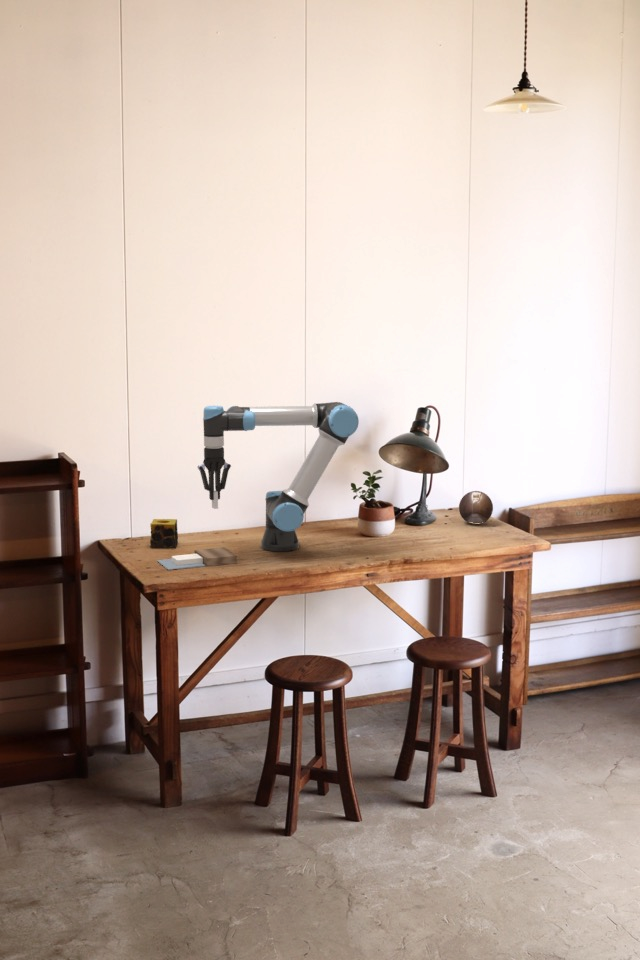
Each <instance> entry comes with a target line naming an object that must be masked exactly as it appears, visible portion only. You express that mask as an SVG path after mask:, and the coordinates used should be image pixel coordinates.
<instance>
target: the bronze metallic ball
mask: <svg viewBox="0 0 640 960" xmlns="http://www.w3.org/2000/svg"><path fill="white" fill-rule="evenodd" d="M458 504H459V505H458V511H459V515H460V516H461V518H462V519H463V521H464V522H466V521H467V523H468V522H473V523H482V522H484V523H486V522H488V520H489V519H490V518H491V517H492V514H493V512H494V505H493V502H492V499H491V498H490V496H489V495H488V494H486V493H485V492H483V491H478V490H472V491H469V492H467V493H466V494H464V495H463V496H462V497H461V499H460V501H459V503H458ZM482 524H483V523H482Z"/></svg>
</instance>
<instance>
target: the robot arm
mask: <svg viewBox="0 0 640 960" xmlns="http://www.w3.org/2000/svg"><path fill="white" fill-rule="evenodd" d="M202 421H203V446H204V448H203V456H204V459H203V461H202V464H200V465H197V469H198V470H199V473H200V477H201V480H202V484H203V488H204V490H206V491H208V492H209V494H208V495H209V500H211V508H212V509H214V510H215V509H216V510H217V509H219V500H220V499H221V491H222V490H225V488H226V484H227V481H228V475H229V470H230V469H231V467H232V465H231V464H229V463H228V462H226V460H225V448H224V446H225V439H224V436H225V435H224V434H225V433H224V432H232V431H233V432H237V431H239V432H240V431H241V432H242V431H244V432H247V431H254V430H255V428H256V427H262V426H264V427H265V426H267V427H275V426H277V427H278V426H282V427H283V426H284V427H286V426H293V427H295V426H312V427H313V428H315V429H318V437H317V439H316V440H315V442H314V444H313V445H312V447H311V449H310V451H309V453H308V454H307V456H306V458H305V460H304V461H303V463H302V465H301V466H300V468H299V470H298V472H297V473H296V475H295V477H294V478H293V480H292V482H291V483H290V485H289V487H288V488H286V489H283V490H272V491H267V492H266V494H265V529H264V533H263V535H262V538H261V541H260V545H261V546H260V547H261V549H263V550H265V551H270V552H289V551H290V552H291V550H292V551H295V549H296V550H298V549H299V548H298V547H300V545H299V544H300V542H299V538H298V535H297V533H296V530H297V529H298V528H299V527H301V525H302V523H303V522H304V518H305V516H304V515H305V512H306V511H307V509H308V508H309V505H310V504H309V498H310V496H312V493H313V491H314V490H315V487H316V486H317V484H318V482H319V481H320V479H321V477H322V475H323V474H324V472H325V471H326V469H327V467H328V465H329V464H330V462H331V461H332V459H333V457H334V455H335V453H336V452H337V450H338V448H339V447H340V446H342V445H343V446H344V445H345V444H346V442H347V441H348V439H349V437H351V436H352V435H354V433H355V432H356V431H357V430H358V427H359V416H358V414H357V412H356V411H355V409H354V408H353V407H351V406H350V405H347V404H344V403H343V402H340V401H331V402H325V403H324V402H321V403H313V404H312V405H308V406H307V405H306V406H305V405H304V406H303V405H299V406H297V405H296V406H238V405H233V406H230V407H228V408H227V410H224V407H223V406H222V405H207V406H205V407H204V408H203V418H202ZM222 468H223V469H222ZM205 470H207V473H208V478H207V474H206V471H205ZM221 471H222V474H221ZM297 548H298V549H297Z"/></svg>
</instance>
